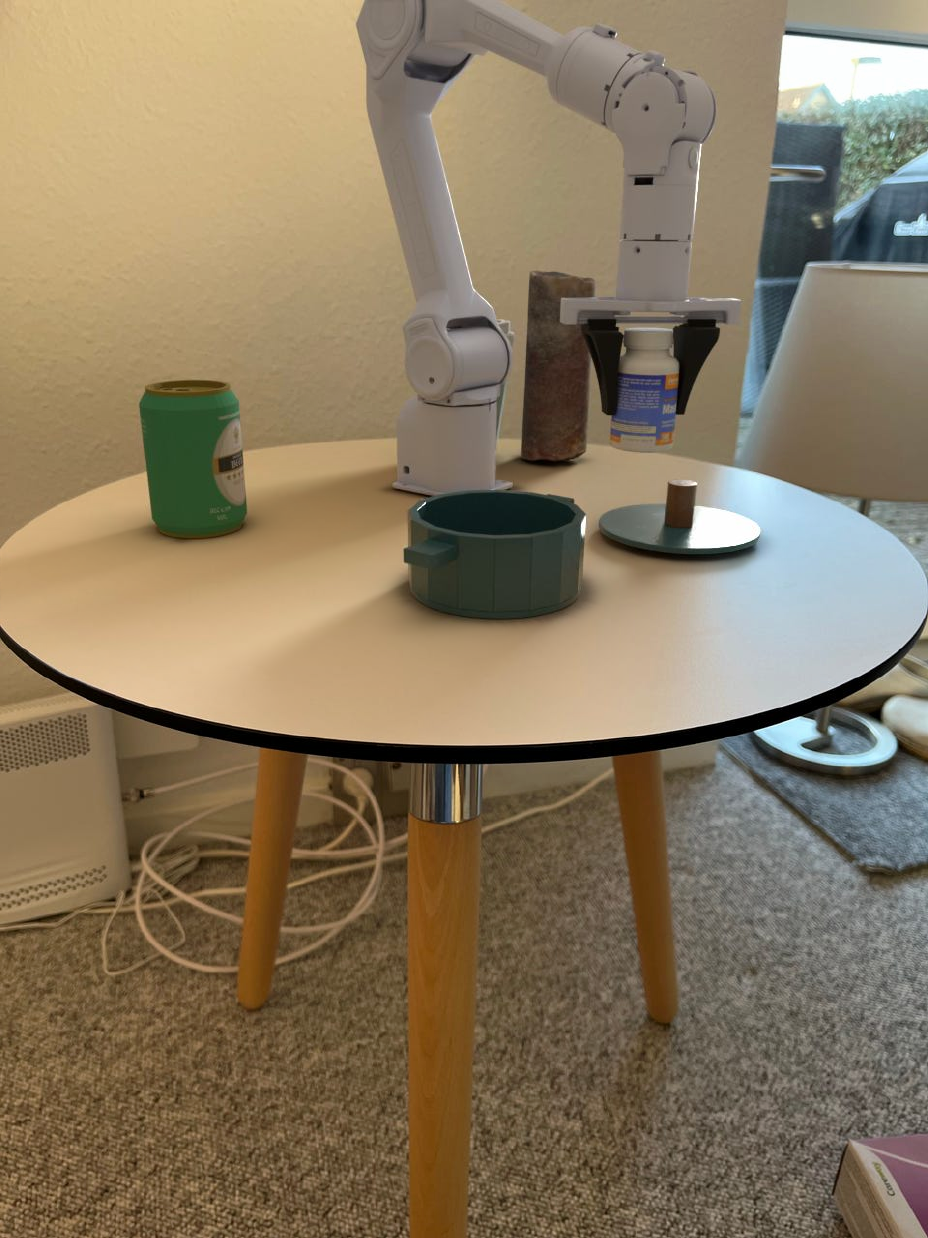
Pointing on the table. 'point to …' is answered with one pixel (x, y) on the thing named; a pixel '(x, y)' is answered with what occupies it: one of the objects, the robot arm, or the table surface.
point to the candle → (555, 371)
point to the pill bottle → (646, 392)
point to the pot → (495, 553)
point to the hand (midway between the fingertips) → (642, 413)
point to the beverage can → (193, 457)
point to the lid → (679, 525)
